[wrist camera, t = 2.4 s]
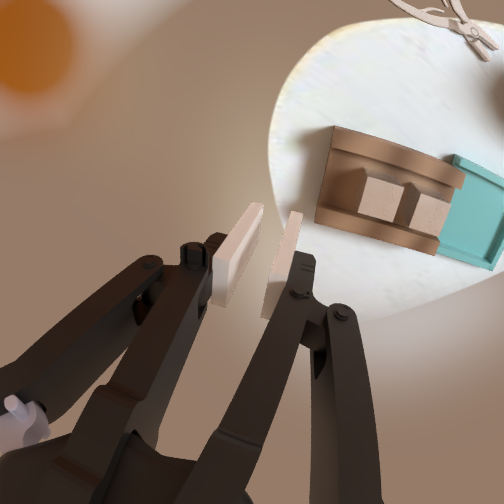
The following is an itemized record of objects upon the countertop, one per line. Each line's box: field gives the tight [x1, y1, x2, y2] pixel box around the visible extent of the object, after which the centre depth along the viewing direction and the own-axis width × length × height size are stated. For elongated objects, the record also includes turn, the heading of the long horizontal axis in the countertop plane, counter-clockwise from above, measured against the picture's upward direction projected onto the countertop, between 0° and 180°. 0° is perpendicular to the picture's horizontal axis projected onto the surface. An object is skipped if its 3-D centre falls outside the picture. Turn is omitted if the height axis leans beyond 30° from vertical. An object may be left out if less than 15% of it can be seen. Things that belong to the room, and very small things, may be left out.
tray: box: [436, 154, 504, 271], centre depth 28 cm, size 13×13×2 cm
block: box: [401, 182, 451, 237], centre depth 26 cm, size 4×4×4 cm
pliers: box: [388, 0, 499, 62], centre depth 16 cm, size 10×2×15 cm
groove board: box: [314, 126, 466, 256], centre depth 29 cm, size 16×11×4 cm
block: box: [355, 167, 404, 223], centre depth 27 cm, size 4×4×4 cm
